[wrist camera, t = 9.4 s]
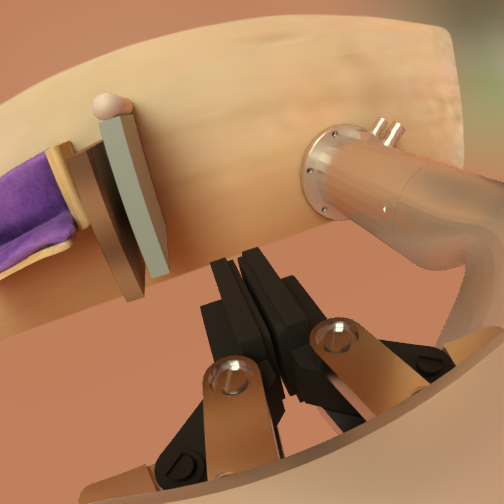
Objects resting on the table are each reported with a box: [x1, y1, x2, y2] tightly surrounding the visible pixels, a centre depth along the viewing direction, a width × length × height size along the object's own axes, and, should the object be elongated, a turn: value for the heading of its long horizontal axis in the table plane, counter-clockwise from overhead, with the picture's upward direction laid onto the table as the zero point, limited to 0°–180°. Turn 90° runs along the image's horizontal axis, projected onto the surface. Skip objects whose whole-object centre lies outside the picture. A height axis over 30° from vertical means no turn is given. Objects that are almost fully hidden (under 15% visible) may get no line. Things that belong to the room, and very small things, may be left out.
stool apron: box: [67, 140, 145, 302], centre depth 26 cm, size 12×2×12 cm, turn 12°
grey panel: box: [92, 93, 170, 278], centre depth 26 cm, size 2×15×11 cm, turn 11°
